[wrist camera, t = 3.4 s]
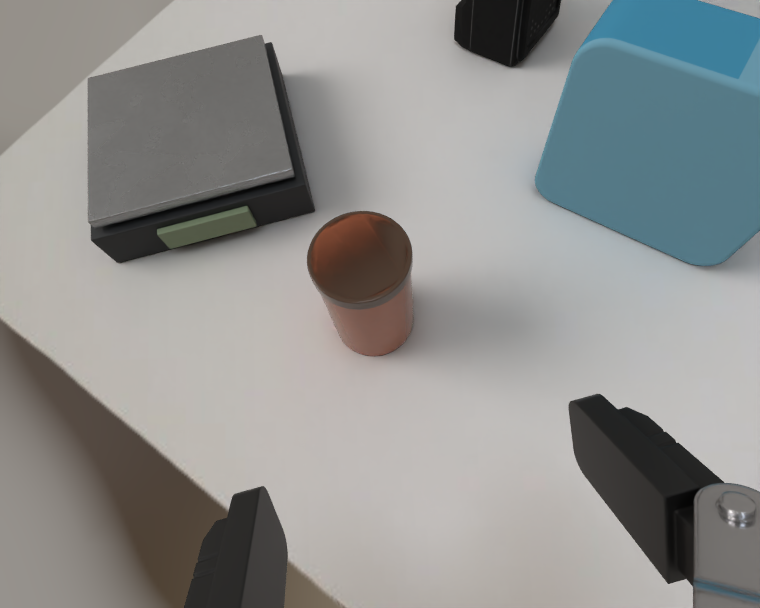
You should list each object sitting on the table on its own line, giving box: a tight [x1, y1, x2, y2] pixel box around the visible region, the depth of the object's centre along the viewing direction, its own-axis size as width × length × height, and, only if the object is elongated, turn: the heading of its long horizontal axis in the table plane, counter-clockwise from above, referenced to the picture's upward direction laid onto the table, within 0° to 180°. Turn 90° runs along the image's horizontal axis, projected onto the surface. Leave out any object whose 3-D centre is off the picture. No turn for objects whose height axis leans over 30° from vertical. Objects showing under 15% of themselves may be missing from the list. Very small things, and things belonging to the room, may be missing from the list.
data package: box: [535, 0, 760, 266], centre depth 27 cm, size 12×4×12 cm, turn 56°
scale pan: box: [88, 35, 295, 228], centre depth 33 cm, size 13×13×1 cm
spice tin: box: [307, 211, 413, 356], centre depth 27 cm, size 5×5×8 cm
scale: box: [91, 42, 315, 263], centre depth 35 cm, size 14×14×3 cm
